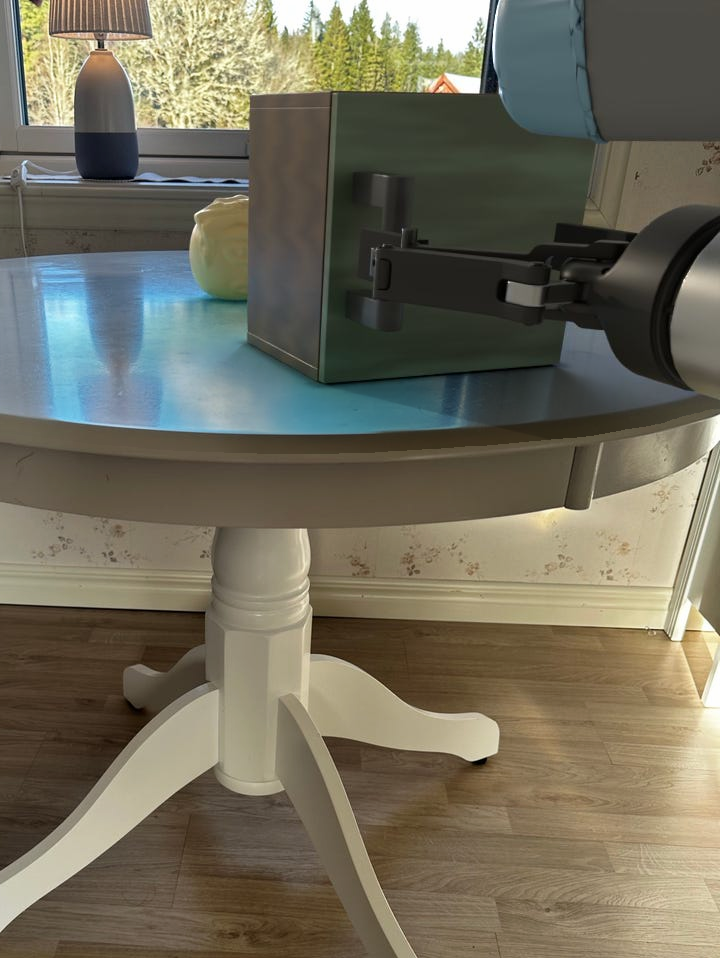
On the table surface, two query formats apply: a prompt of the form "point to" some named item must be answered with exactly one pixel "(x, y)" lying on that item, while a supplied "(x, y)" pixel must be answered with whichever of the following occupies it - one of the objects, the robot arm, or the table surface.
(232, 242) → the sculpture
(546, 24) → the robot arm
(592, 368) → the table surface
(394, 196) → the cupboard door
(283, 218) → the cupboard
